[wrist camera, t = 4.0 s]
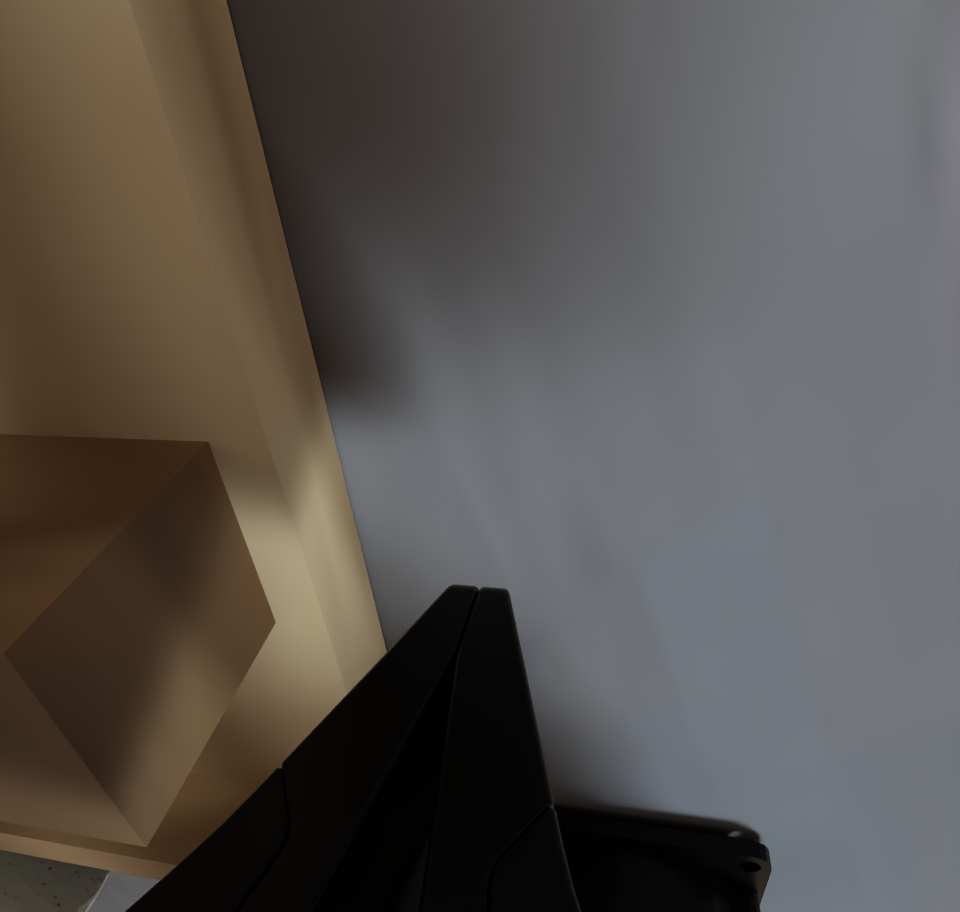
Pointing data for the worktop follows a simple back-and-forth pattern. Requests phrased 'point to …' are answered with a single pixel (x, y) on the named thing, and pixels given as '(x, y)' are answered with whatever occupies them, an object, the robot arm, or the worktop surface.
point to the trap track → (175, 349)
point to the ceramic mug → (47, 884)
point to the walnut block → (116, 627)
